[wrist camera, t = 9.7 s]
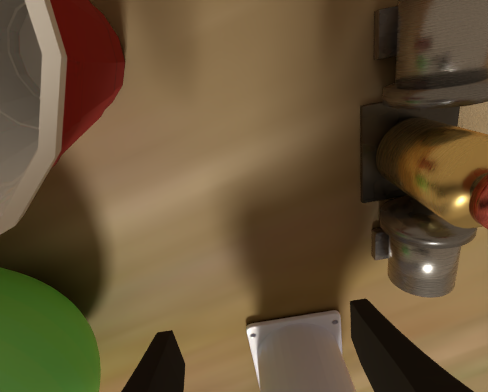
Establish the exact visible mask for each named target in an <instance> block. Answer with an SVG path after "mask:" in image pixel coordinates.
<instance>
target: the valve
mask: <svg viewBox="0 0 488 392" xmlns="http://www.w3.org/2000/svg"><path fill="white" fill-rule="evenodd" d="M376 164H377V168H378V170H379V172H380V174H381V175H382V176H383V177H384V178H385V179H386V180H388V181H389V182H391V183H392V184H394V185H395V186H396V187H398V188H399V189H401V190H402V191H404V192H405V193H407V194H408V195H409V196H411V197H412V198H414V199H415V200H417V201H418V202H420V203H421V204H422V205H424V206H425V207H427V208H428V209H430V210H431V211H432V212H434V213H435V214H437V215H438V216H440V217H441V218H443V219H444V220H445V221H447V222H448V223H450V224H452V225H454V226H456V227H460V228H477V227H482V226H484V227H485V228H487V229H488V135H487V134H484V133H480V132H476V131H472V130H468V129H464V128H460V127H456V126H453V125H449V124H445V123H441V122H437V121H433V120H429V119H425V118H410V119H407V120H404V121H402V122H400V123H398V124H396V125H395V126H394V127H392V128H391V129H390V130H389V131H388V132H387V133H386V134H385V135H384V137H383V138H382V140H381V142H380V144H379V146H378V149H377V153H376Z"/></svg>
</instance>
